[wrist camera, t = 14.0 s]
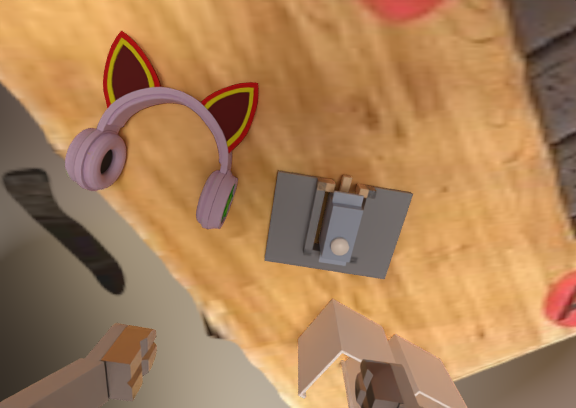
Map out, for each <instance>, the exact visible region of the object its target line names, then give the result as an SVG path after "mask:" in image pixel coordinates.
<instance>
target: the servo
mask: <svg viewBox="0 0 576 408" xmlns="http://www.w3.org/2000/svg"><path fill="white" fill-rule="evenodd" d="M351 181H352V177H351V176H348V175H342V179H341V184H340V188H339V191H334V193H333V192H329V193H328V198H327V202H326V207H325V211H324V216H323V220H322V225H321V229H320V234H319V238H318V239H319V246H320V255H319V259H318V261H319V262H322V263H329V264H335V265H342V266H345V265H346V262H350V258H351V254H352V251H353V247H354V243H355V240H356V236H357V233H358V229H359V225H360V222H361V218H362V214H363V209H362V207H361V206H362V202H363V198H364V196H363V195H359V194H353V193H349V189H350V185H351Z"/></svg>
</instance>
